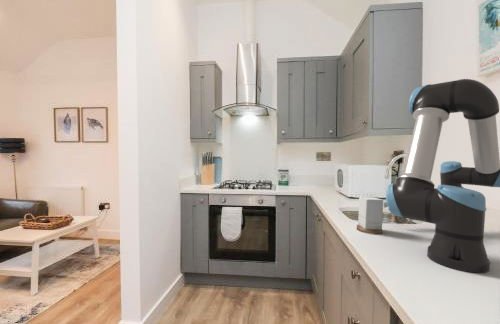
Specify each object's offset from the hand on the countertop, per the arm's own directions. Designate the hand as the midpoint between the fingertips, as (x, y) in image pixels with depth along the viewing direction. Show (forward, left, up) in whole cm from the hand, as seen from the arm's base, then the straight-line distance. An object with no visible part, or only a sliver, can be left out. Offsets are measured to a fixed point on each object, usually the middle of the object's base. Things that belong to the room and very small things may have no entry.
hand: (395, 211), depth 110 cm
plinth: (+1, +11, -9) cm, 14 cm away
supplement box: (+1, +11, -8) cm, 13 cm away
